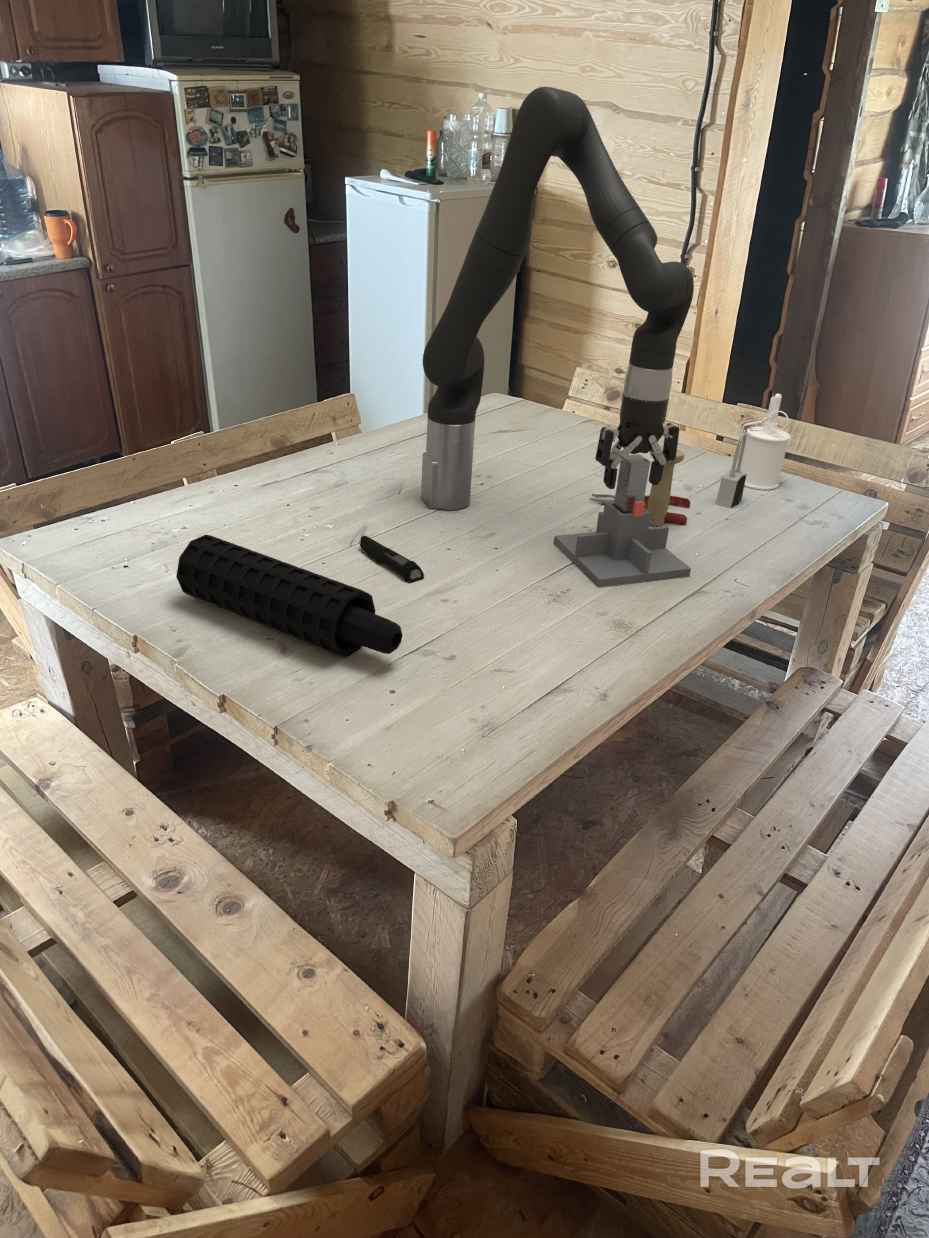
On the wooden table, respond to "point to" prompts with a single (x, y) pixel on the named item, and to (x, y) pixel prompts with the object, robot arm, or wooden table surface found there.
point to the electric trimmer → (392, 560)
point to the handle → (662, 492)
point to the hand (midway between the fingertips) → (631, 485)
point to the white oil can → (765, 450)
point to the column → (631, 482)
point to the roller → (285, 598)
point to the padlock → (733, 480)
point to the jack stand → (623, 549)
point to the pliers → (669, 518)
